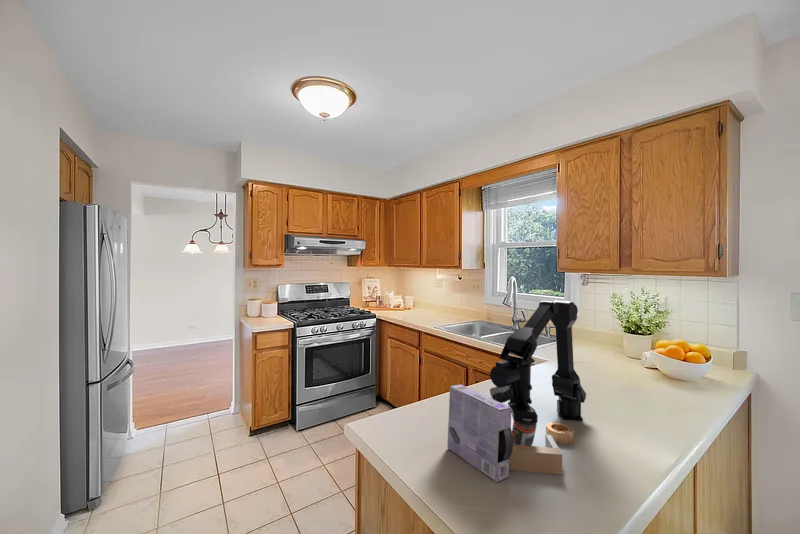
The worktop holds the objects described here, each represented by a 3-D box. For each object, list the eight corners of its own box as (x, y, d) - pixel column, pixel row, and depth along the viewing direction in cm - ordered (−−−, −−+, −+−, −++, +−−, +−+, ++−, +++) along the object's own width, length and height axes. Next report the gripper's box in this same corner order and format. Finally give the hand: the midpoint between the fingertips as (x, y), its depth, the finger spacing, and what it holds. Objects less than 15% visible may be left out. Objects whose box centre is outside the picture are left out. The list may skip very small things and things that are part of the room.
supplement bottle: (507, 432, 99) (511, 406, 94) (526, 428, 100) (531, 402, 94) (516, 451, 94) (521, 425, 89) (536, 447, 95) (542, 421, 89)
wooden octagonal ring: (567, 433, 104) (567, 423, 104) (575, 444, 97) (575, 434, 97) (544, 431, 105) (544, 421, 105) (550, 442, 98) (550, 432, 98)
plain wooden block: (551, 447, 96) (551, 429, 96) (566, 475, 83) (566, 455, 83) (492, 442, 98) (493, 425, 98) (498, 469, 85) (499, 449, 85)
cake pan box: (514, 479, 81) (514, 406, 81) (500, 486, 78) (500, 411, 78) (459, 443, 97) (459, 382, 97) (446, 449, 95) (446, 386, 95)
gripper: (489, 366, 110) (488, 413, 110) (495, 390, 91) (494, 446, 92) (524, 368, 108) (523, 416, 109) (538, 393, 89) (537, 450, 90)
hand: (519, 430), depth 100 cm, fingers closed, pressing on supplement bottle
